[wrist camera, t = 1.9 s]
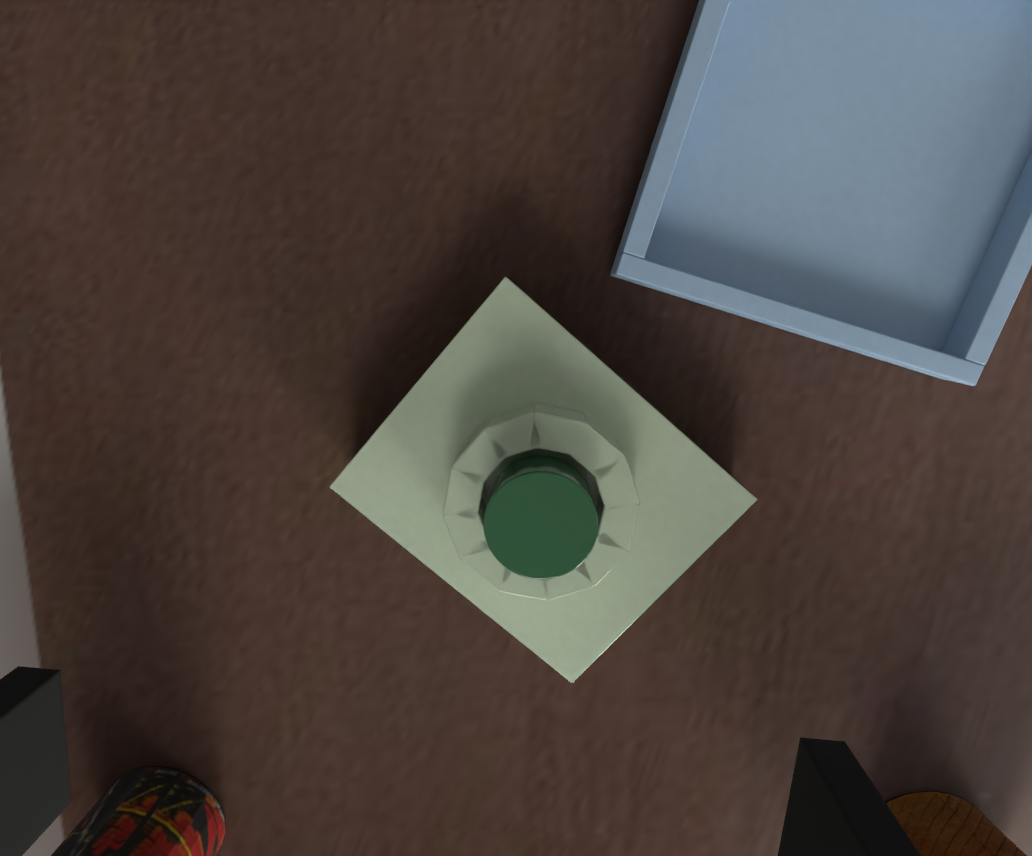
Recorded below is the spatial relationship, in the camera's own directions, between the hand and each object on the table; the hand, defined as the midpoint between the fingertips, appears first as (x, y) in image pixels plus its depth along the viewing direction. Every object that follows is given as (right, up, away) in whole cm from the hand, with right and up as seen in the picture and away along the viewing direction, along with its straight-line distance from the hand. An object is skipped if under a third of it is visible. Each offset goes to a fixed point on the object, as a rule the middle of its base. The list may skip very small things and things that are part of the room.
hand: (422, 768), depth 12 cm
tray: (+14, +16, +12) cm, 25 cm away
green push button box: (+3, +4, +15) cm, 16 cm away
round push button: (+3, +3, +11) cm, 12 cm away
